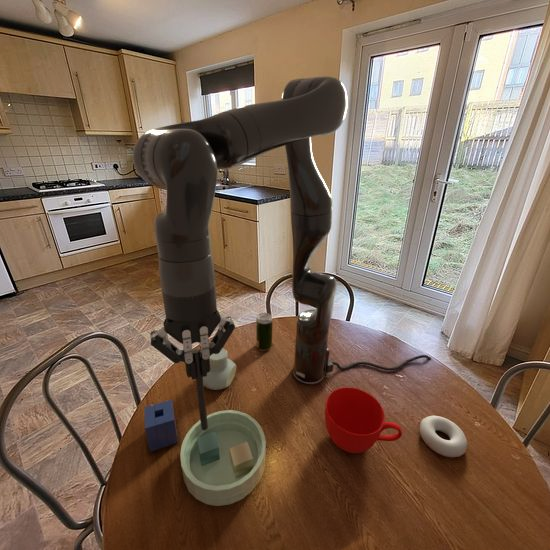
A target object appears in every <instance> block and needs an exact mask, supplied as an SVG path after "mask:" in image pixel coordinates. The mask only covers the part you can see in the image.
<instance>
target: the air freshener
mask: <svg viewBox="0 0 550 550" xmlns="http://www.w3.org/2000/svg"><path fill="white" fill-rule="evenodd" d="M228 357H229V356H228V350H227V349H225V348H224V347H223V348H222V350H221V351H220V353H218V354H212V355H211V356H210V358H209V359H210V372H208V373H207V376H205V377H203V385H204V388H206V389H208V390H214V391H219V390H224V389H227V388H228V387H229V386H230V385H231V384H232V382H233V380H234V378H235V376H236V373H237V365H236V363H235V362H234V361H233V360H231V359H230V358H228Z"/></svg>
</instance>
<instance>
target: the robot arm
mask: <svg viewBox="0 0 550 550" xmlns="http://www.w3.org/2000/svg"><path fill="white" fill-rule="evenodd" d="M347 110H348V94H347V90H346V87H345V85H344V83H343V82H342V81H341V80H340V79H338V78H336V77H333V76H329V75H328V76H327V75H326V76H313V77H302V78H301V77H300V78H295V79H291V80H289V81H288V82H287V83H286V85H285V86H284V88H283V91H282V94H281V99H280V100H271V101H265V102H257V103H253V104H246V105H243V106H238V107H235V108H232V109H231V108H230V109H227V110H224V111H221V112H218V113H216V114H213V115H210V116H208V117H205V118H202V119H198V120H191V121H185V122H180V123H173V124H170V125H169V124H168V125H165V126H160V127H157V128H153V129H149V130H148V131H146V132H144V133H143V134H142V135H141V136H140V137H139V138H138V139H137V141H136V142H135V144H134V147H133V149H132V150H133V151H132V163H133V167H134V169H135V172H136V173H137V174H138V176H139V177H140V178H141V179H142V180H143V181H144V182H146V183H147V184H149V185H151V186H153V187H155V188H158V189H162V190H166V202H165V203H166V205H165V209H164V210H162V211H160V212H159V213H157V214H156V215H155V217H154V222H153V227H154V238H155V245H156V250H157V256H158V275H159V283H160V284H159V285H160V289H161V294H162V295H161V296H162V300H163V301H162V302H163V308H164V315H165V318H164V320H163V326H162V327H161V328H159V329H158V330H152V331H150V346H151V347H153V348H154V349H156V350H157V351H158V352H159V353H161V354H162V355H163V356H164V357H166V358H167V359H168V360H170V361H171V362H173V363H174V364H179V363H180V362H183V363H184V366H185V373H186V376H187V378H191V380H192V381H193V380H196V371H195V363H194V359H193V354H192V351H193V344H196V343H199V350H200V359H201V368H202V376H203V377H205V376H207V373H208V372H210V359H209V358H210V356H211V355H212V354H218V353H220V351H221V350H222V348H223V349H224V347H225V345H226V344H227V342H228V340H229V339H230V337H231V335H232V334H233V332H234V331H235V329H236V325H235V322H234V321H233V319H232V317H231V316H226V317H224V316H221V314H220V312H219V310H218V305H217V303H218V302H217V291H216V289H217V288H216V276H215V266H214V265H215V264H214V261H213V256H212V246H211V232H210V231H211V230H210V220H211V216H212V213H213V212H212V211H213V206H214V200H215V195H216V189H217V183H218V175H219V174H218V173H219V172H218V171H219V170H230V169H234V168H237V167H239V166H241V165H243V164H246V163H248V162H250V161H252V160H254V159H256V158H258V157H260V156H263V155H265V154H267V153H269V152H272V151H273V150H276V149H278V148H279V149H280V148H282V147H284V148H285V155H286V162H287V171H288V182H289V201H290V202H289V203H290V205H289V206H290V225H291V237H292V278H291V292H292V293H291V294H292V296H293V299H294V300H295V302H297V303H299V304H302V305H304V306H308V307H311V308H313V309H306V310H303V311H301V312H300V313H299V314H298V315H297V317H296V324H295V340H294V341H295V342H294V344H295V345H294V356H293V357H294V358H293V370H292V374H293V377H294V378H295V380H297V381H298V382H299V383H301V384H304V385H309V386H310V385H318V384H319V383H321V382H322V381H323V380H324V378H325V377H327V375H328V373H332V372H333V371H334V365H335V366H336V368H337V369H338V370H341V371H346V370H348V369H352V368H353V367H356V366H359V365H366V366H371V367H374V368H376V369H380V370H384V371H397V370H399V369H401V368H402V367H403V366H405V365H406V364H408V363H410V362H413V361H416V360H419V359H423V358H425V359H428V360H431V359H432V358H431V357H430V356H429V355H427V354H419V355H416V356H414V357H411V358H408V359H406V360H404V361H403V362H401V363H399V365H397V366H394V367H387V366H381V365H379V364H377V363H376V364H375V363H373V362H370V361H369V362H368V361H357V362H354V363H351V364H349V365H347V366H341V365H340V364H339V362H336V361H331V359H330V352H331V351H330V349H329V348H328V342H329V335H330V327H331V326H330V325H331V322H332V317H333V311H334V304H335V300H336V299H335V298H336V295H337V286H338V285H337V280H336V278H335V277H334V276H333V275H330V274H325V273H321V272H317V271H313V270H312V268H311V262H312V258H313V256H314V254H315V253H316V251H317V250H318V249H319V247H321V245H322V244H323V243H324V241H325V240H326V239H327V237H328V236H329V234H330V232H331V229H332V225H333V222H332V221H333V199H332V196H331V193H330V190H329V187H328V185H327V184H326V182H325V180H324V178H323V176H322V174H321V172H320V170H319V169H318V167H317V164H316V162H315V159H314V155H313V148H312V138H313V137H318V136H327V135H332V134H333V133H335V132H336V131H338V130H339V128H340V127H341V126H342V124H343V122H344V120H345V119H346V115H347ZM217 328H218V329H217ZM216 329H217V330H216ZM215 331H216V332H215ZM214 332H215V334H214V336H213V337H212V339H209V338H211V336H212V335H213V333H214ZM169 336H170V337H172V339H174V340H175V341H177V342H178V343H180V344H181V345H182V349H180V348H179V347H178V346H176V345H175V344H174V343H173V342H172V341H170V340H169ZM428 356H429V357H428ZM405 361H406V362H405Z"/></svg>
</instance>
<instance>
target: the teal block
mask: <svg viewBox="0 0 550 550" xmlns="http://www.w3.org/2000/svg"><path fill="white" fill-rule="evenodd" d="M197 443H198V451H199V456H200V461H201V466H203V465H206V464H209V463H211V462H214V461H217V460H220V455H219V446H218V442H217V438H216V434H215V432H213V433H210V434H207V435H204V436H201V437H198V438H197Z"/></svg>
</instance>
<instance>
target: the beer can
mask: <svg viewBox="0 0 550 550" xmlns="http://www.w3.org/2000/svg"><path fill="white" fill-rule="evenodd" d="M273 321H274V319H273V316H272V314H271V313H268V312H259V313H258V314H257V315H256V322H255V323H256V324H255V325H256V327H255V328H256V329H255V330H256V331H255V332H256V333H255V335H256V339H255V340H256V341H255V343H256V344H255V345H256V348H257V349H258V350H259V351H262V352H266V351H269V350H271V348H272V347H273Z"/></svg>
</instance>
